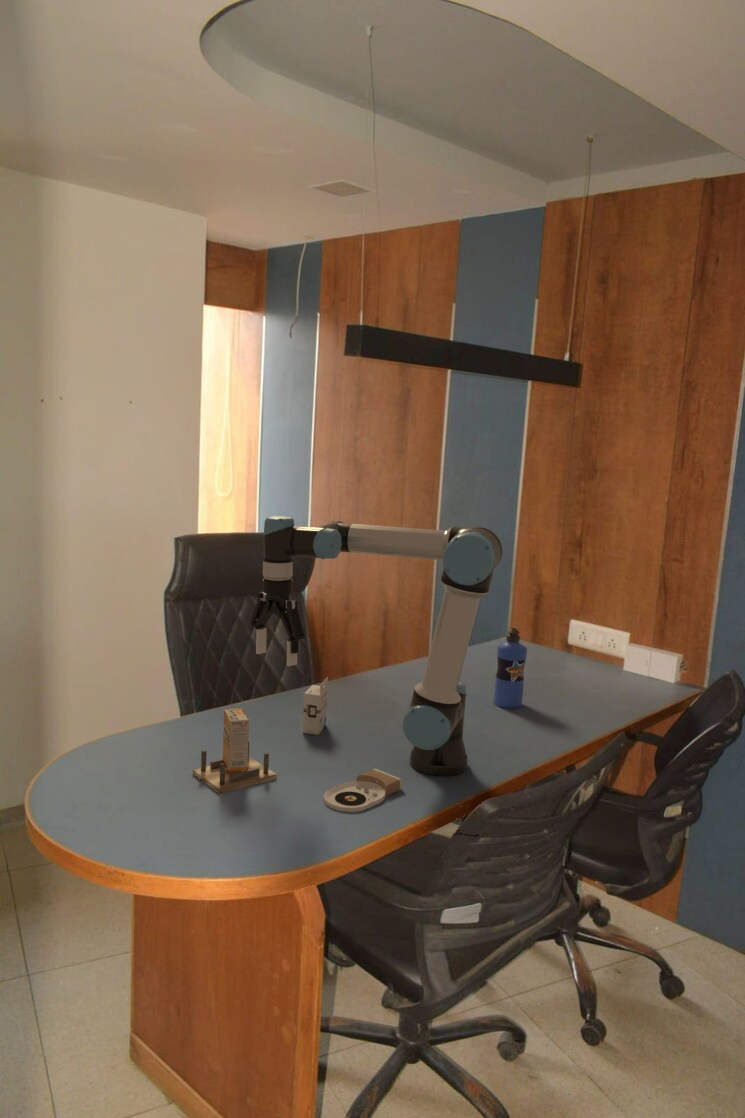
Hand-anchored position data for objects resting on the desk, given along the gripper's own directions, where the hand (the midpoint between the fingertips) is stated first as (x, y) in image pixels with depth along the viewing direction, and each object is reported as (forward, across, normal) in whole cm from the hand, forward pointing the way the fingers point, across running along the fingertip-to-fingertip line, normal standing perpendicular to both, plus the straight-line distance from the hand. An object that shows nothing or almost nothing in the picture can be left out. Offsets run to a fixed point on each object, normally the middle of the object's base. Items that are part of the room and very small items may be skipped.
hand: (276, 659), depth 228 cm
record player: (+28, -30, -4) cm, 41 cm away
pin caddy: (+26, -5, +15) cm, 31 cm away
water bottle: (+28, -5, -88) cm, 92 cm away
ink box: (+27, +11, -22) cm, 36 cm away
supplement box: (+24, -5, +15) cm, 28 cm away
